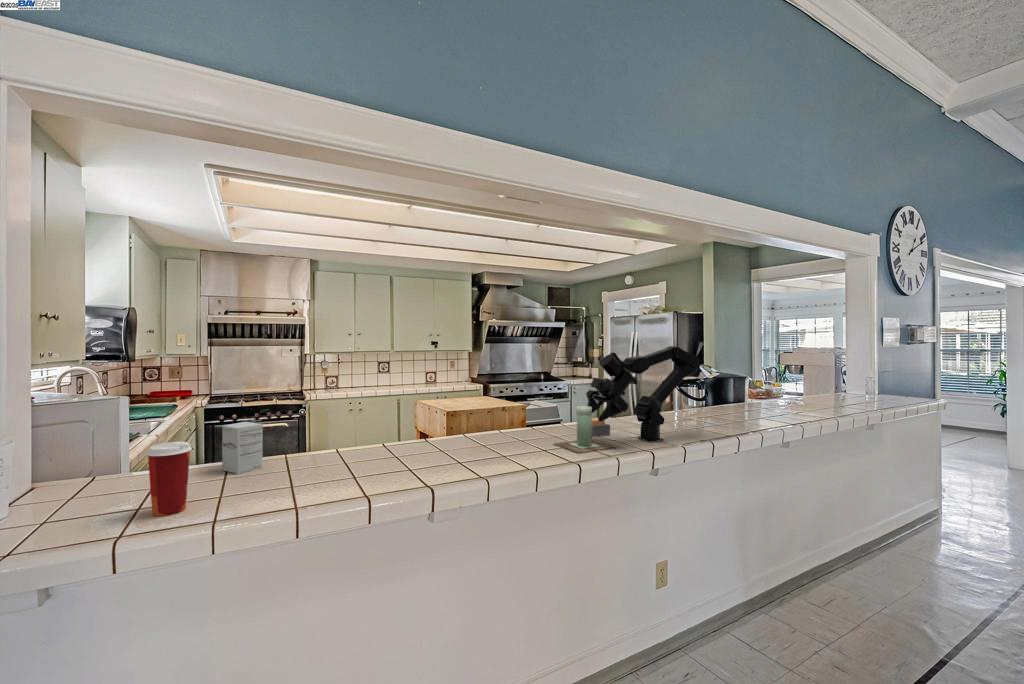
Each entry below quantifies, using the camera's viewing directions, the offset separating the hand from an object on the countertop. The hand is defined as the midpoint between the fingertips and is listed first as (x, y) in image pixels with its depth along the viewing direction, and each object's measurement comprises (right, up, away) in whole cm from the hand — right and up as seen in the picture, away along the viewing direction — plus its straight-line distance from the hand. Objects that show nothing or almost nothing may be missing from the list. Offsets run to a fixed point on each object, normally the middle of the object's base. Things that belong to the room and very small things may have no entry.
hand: (591, 418), depth 155 cm
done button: (+5, -6, +19) cm, 20 cm away
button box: (+5, -9, +19) cm, 21 cm away
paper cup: (-100, -9, -60) cm, 118 cm away
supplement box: (-103, -9, -30) cm, 108 cm away
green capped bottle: (-3, -9, -1) cm, 9 cm away
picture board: (-3, -9, -1) cm, 10 cm away
